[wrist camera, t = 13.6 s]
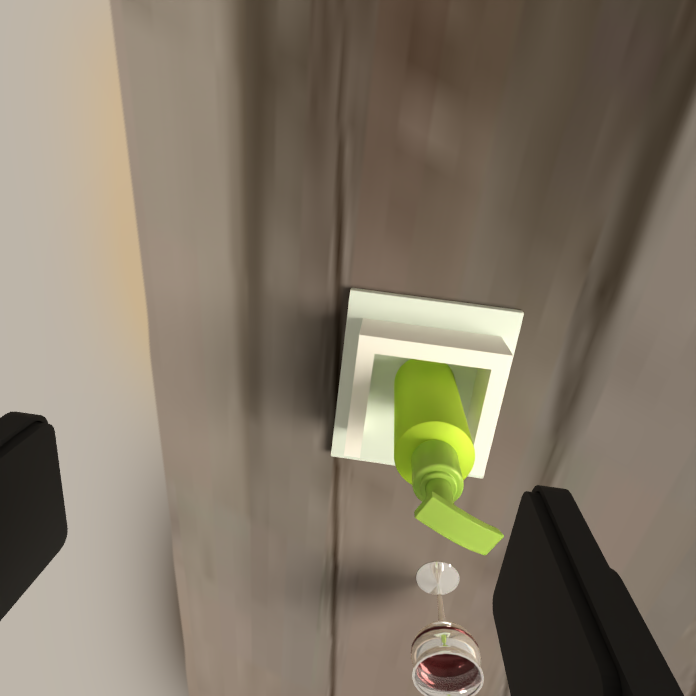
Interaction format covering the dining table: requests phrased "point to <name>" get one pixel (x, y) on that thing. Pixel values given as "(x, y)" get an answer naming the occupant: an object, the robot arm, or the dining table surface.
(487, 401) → the u rest
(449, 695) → the wineglass
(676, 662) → the dining table surface
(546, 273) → the dining table surface
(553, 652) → the robot arm
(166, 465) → the dining table surface
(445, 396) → the soap dispenser
